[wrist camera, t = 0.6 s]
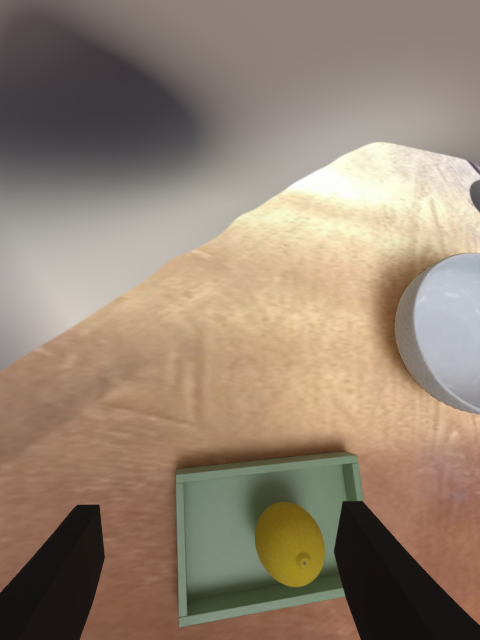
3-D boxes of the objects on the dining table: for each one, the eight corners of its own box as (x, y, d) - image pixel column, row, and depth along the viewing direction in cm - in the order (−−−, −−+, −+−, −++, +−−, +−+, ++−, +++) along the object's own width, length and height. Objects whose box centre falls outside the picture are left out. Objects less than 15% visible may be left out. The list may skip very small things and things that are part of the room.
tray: (361, 575, 32) (376, 590, 29) (179, 608, 29) (178, 628, 26) (344, 450, 34) (357, 455, 32) (176, 468, 31) (175, 474, 29)
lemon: (294, 484, 32) (327, 510, 25) (310, 544, 31) (351, 591, 24) (240, 502, 31) (258, 536, 23) (255, 565, 30) (279, 622, 22)
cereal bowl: (401, 430, 36) (452, 438, 29) (354, 289, 39) (390, 265, 32) (522, 392, 39) (592, 391, 32) (470, 265, 42) (524, 240, 36)
